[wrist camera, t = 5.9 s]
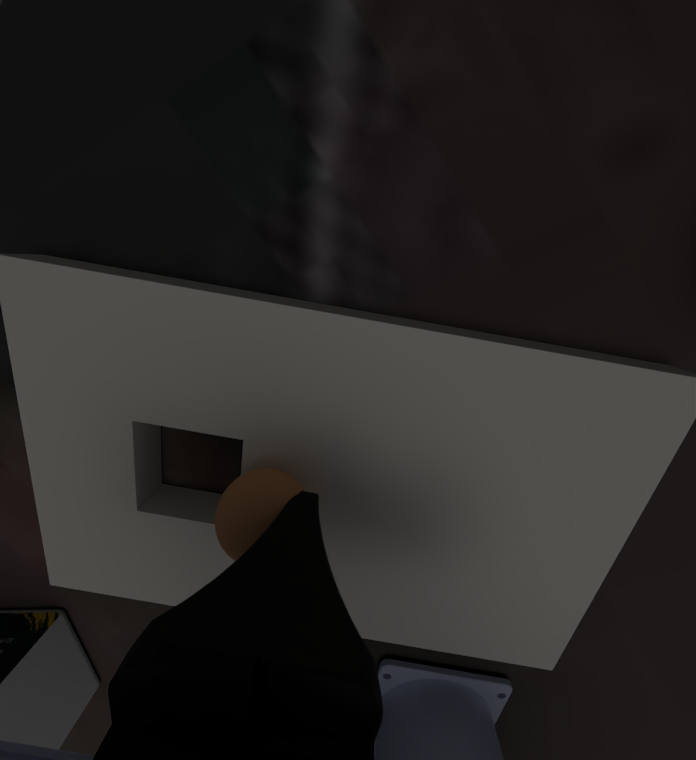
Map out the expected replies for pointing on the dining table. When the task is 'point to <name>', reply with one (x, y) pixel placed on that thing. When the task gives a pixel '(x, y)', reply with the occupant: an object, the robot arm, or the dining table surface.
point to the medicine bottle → (41, 677)
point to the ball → (251, 507)
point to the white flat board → (337, 450)
